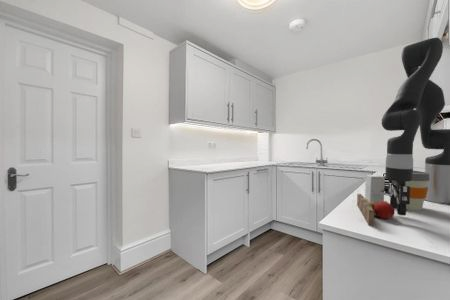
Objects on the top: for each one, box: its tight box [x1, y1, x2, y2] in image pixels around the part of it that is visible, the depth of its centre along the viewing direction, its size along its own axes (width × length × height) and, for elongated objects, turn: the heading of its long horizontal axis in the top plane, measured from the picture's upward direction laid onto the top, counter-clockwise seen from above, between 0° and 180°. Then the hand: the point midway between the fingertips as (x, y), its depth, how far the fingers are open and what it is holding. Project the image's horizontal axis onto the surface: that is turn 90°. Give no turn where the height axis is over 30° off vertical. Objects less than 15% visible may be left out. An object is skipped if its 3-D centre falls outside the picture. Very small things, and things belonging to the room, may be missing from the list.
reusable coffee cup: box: [402, 170, 429, 211], centre depth 87 cm, size 13×13×15 cm
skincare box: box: [364, 174, 386, 204], centre depth 94 cm, size 6×4×12 cm
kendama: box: [365, 199, 395, 220], centre depth 80 cm, size 8×6×18 cm
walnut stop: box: [356, 193, 375, 227], centre depth 78 cm, size 24×1×5 cm, turn 155°
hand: (397, 211), depth 74 cm, fingers open, 8 cm apart
